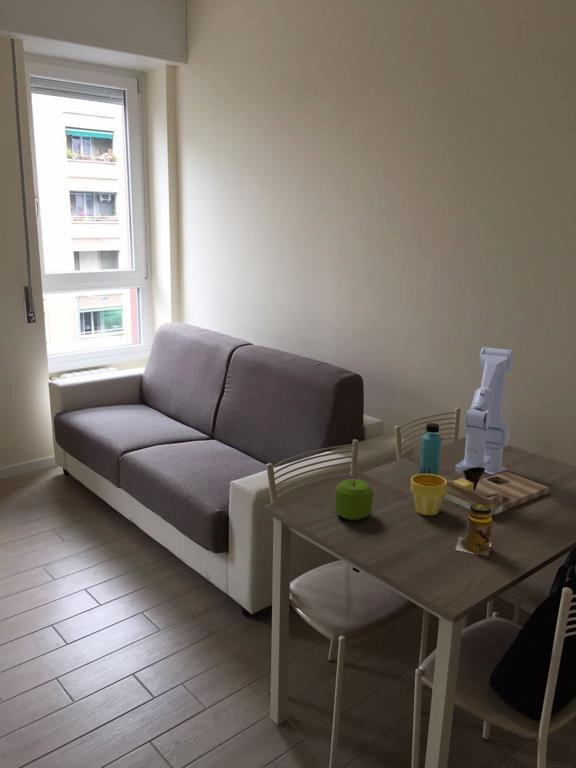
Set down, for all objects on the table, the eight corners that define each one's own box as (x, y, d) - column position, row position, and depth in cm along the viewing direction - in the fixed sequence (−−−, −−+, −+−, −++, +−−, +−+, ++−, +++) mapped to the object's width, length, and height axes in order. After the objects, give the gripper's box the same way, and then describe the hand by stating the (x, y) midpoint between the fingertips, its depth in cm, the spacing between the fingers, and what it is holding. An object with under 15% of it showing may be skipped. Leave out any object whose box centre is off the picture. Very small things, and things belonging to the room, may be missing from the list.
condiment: (489, 557, 166) (493, 514, 163) (455, 550, 169) (458, 508, 166) (491, 544, 173) (495, 502, 170) (458, 538, 176) (462, 497, 173)
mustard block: (461, 489, 201) (462, 477, 200) (472, 494, 198) (473, 482, 197) (451, 493, 199) (452, 481, 198) (463, 498, 195) (464, 486, 194)
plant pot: (412, 500, 198) (414, 470, 196) (447, 506, 195) (449, 476, 192) (405, 515, 189) (407, 483, 186) (442, 521, 185) (444, 489, 183)
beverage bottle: (438, 479, 214) (442, 421, 209) (439, 487, 208) (443, 428, 203) (418, 477, 215) (422, 420, 210) (418, 485, 209) (422, 426, 204)
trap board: (505, 476, 217) (506, 461, 216) (547, 493, 205) (549, 476, 203) (444, 498, 200) (445, 481, 199) (486, 517, 188) (488, 500, 186)
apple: (375, 523, 183) (377, 488, 180) (337, 524, 182) (338, 488, 180) (368, 506, 194) (369, 472, 191) (332, 507, 193) (333, 473, 190)
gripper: (470, 456, 189) (466, 499, 193) (501, 446, 197) (497, 488, 201) (451, 449, 195) (447, 491, 198) (482, 440, 203) (478, 480, 206)
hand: (471, 489), depth 200 cm, fingers closed
